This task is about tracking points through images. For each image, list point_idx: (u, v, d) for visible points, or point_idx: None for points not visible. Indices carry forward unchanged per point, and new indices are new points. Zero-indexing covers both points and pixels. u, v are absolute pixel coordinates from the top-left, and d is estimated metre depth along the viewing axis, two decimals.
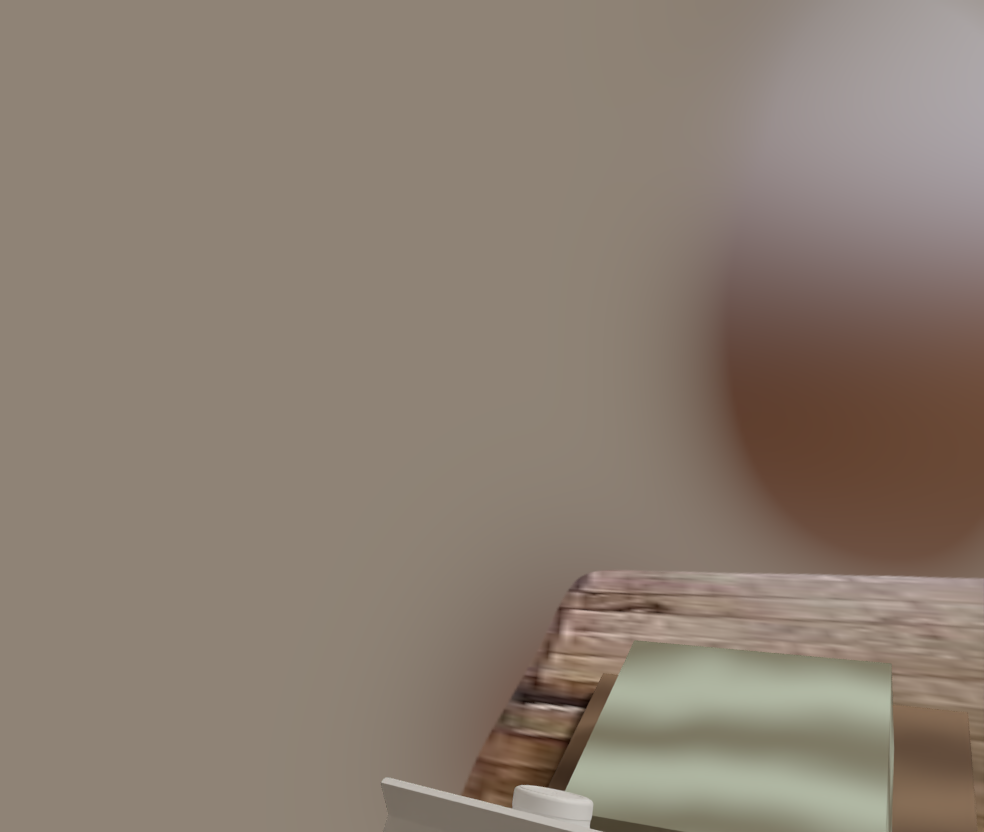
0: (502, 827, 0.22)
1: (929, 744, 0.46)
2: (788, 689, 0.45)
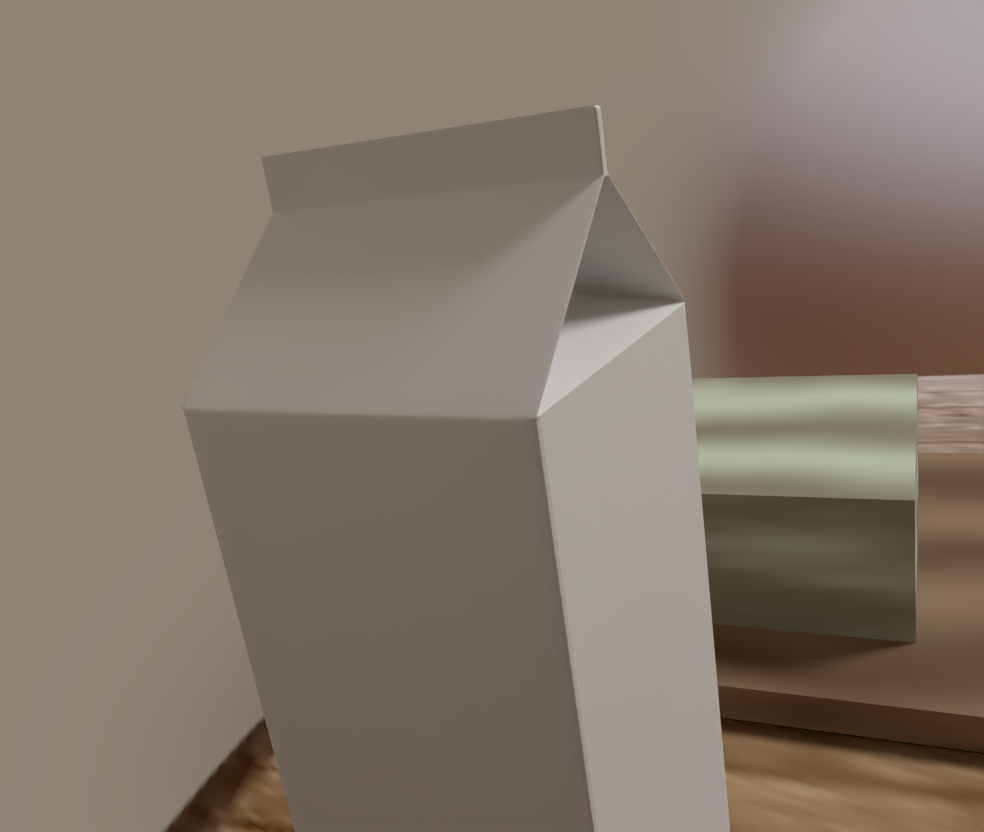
0: (414, 159, 0.16)
1: (959, 477, 0.40)
2: (798, 397, 0.39)
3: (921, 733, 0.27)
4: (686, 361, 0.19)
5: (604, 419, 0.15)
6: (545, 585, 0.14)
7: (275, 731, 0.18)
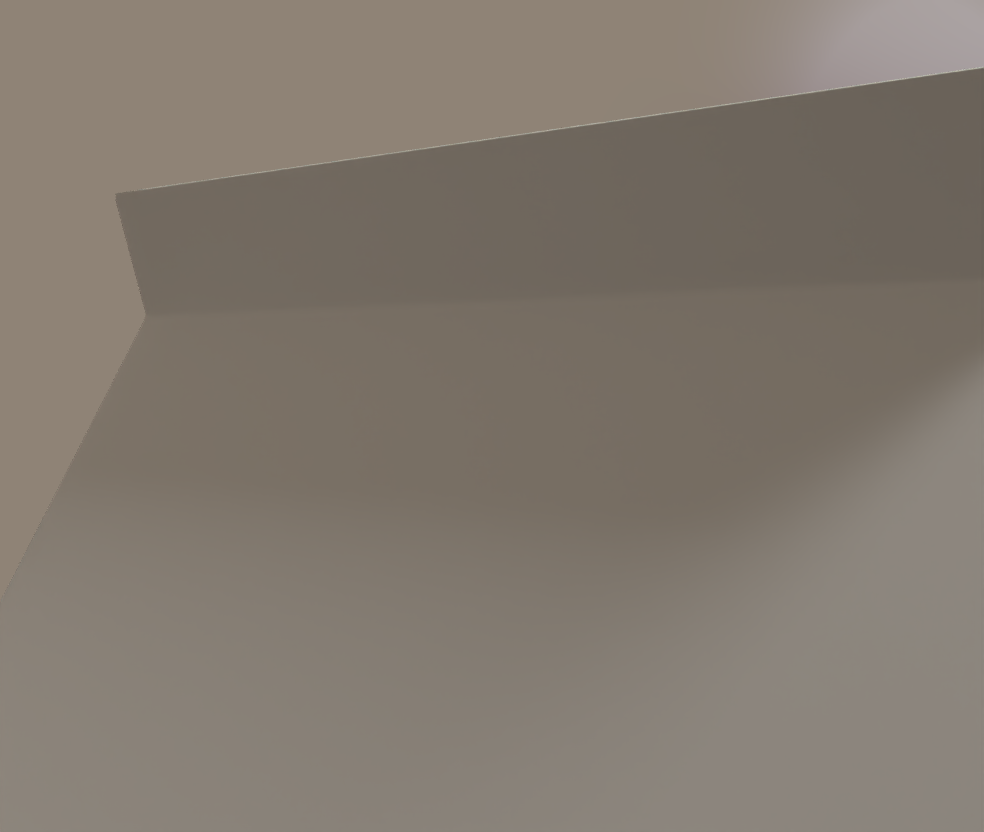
0: (479, 209, 0.06)
1: None
2: None
3: None
4: None
5: None
6: None
7: None
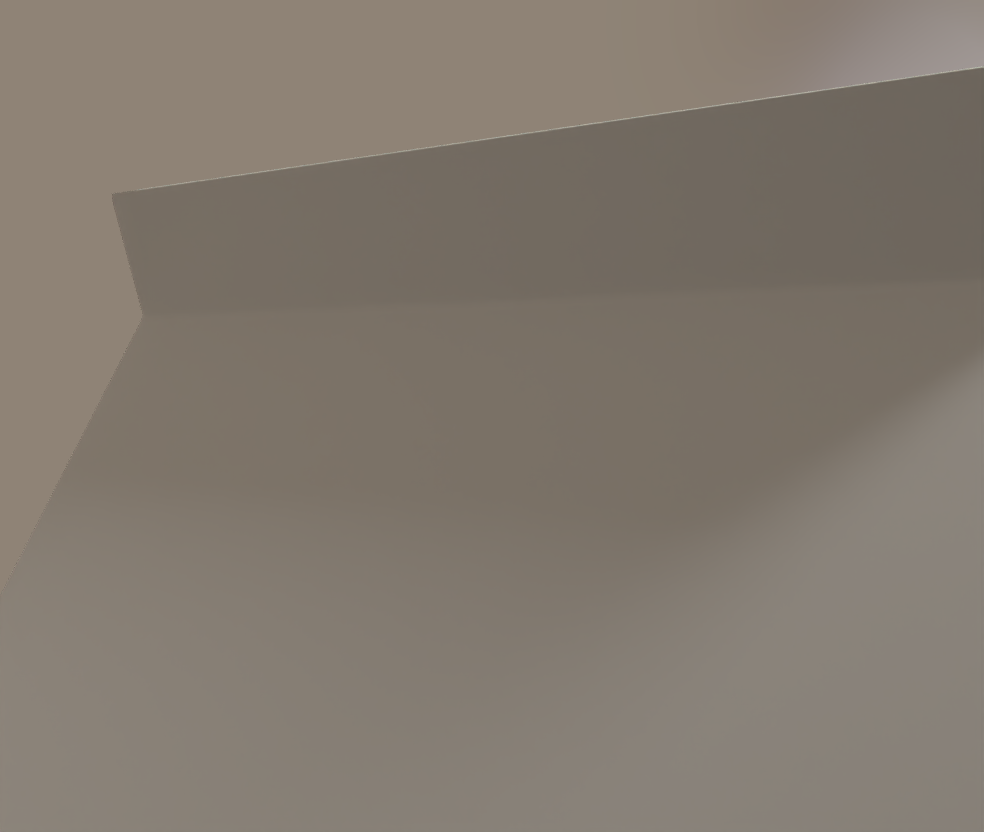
0: (477, 209, 0.06)
1: None
2: None
3: None
4: None
5: None
6: None
7: None
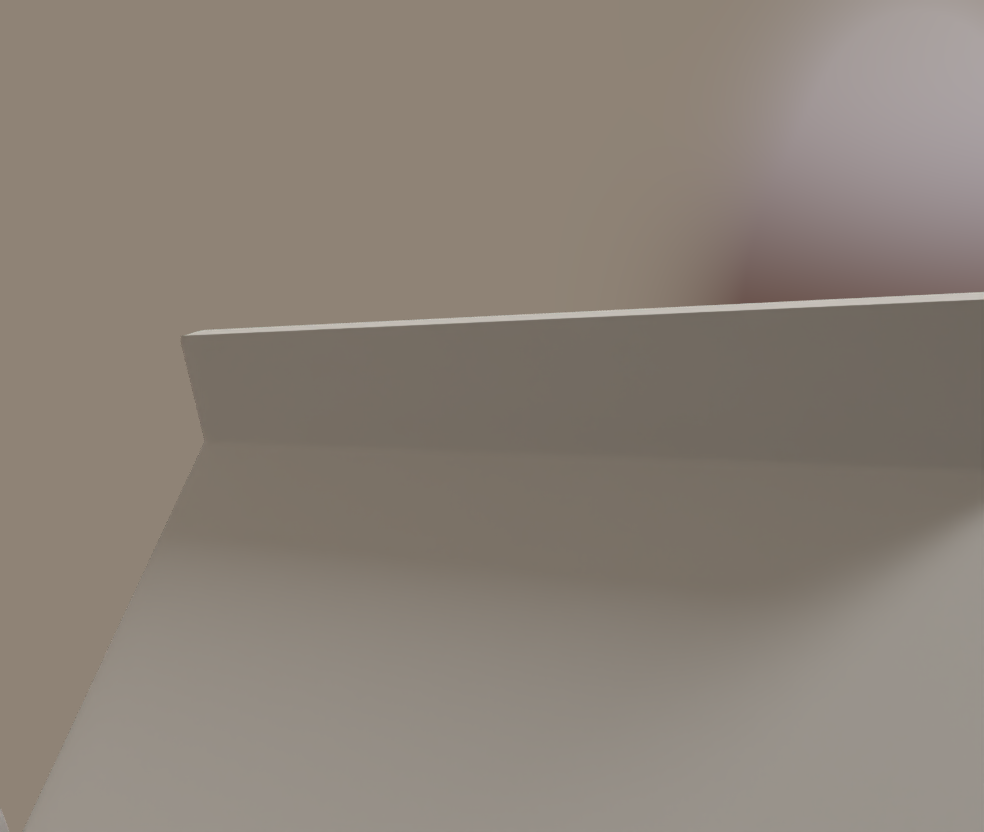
0: (514, 376, 0.07)
1: None
2: None
3: None
4: None
5: None
6: None
7: None
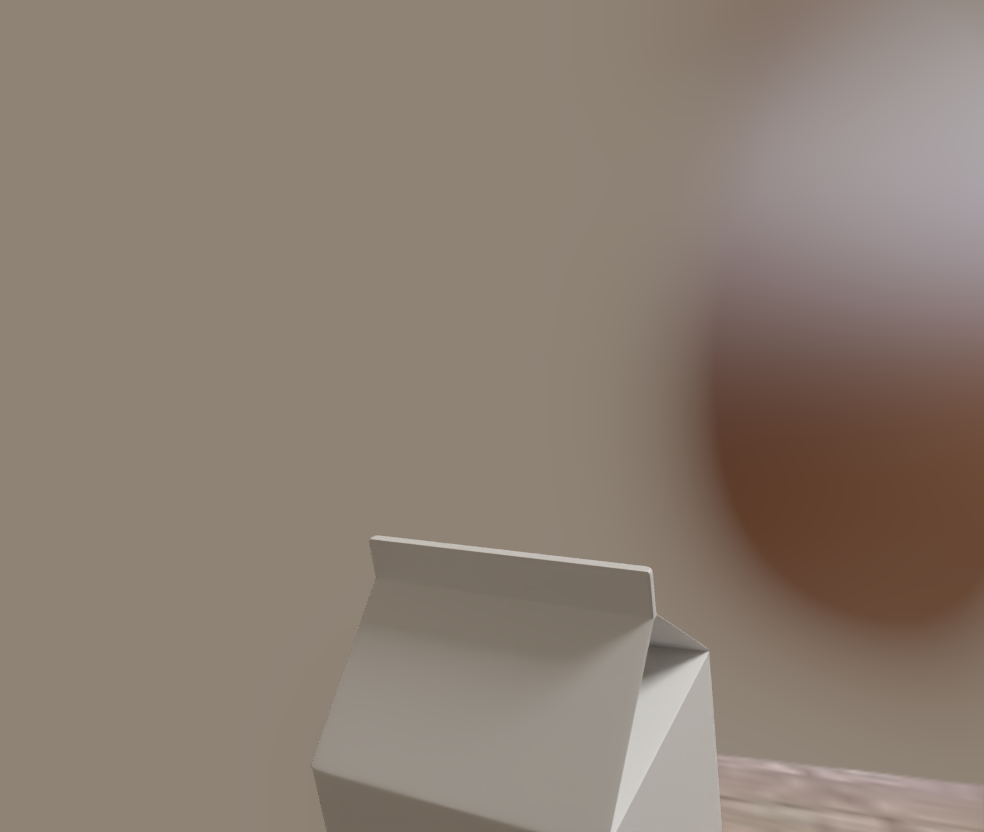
0: (499, 571, 0.21)
1: None
2: None
3: None
4: (709, 697, 0.23)
5: (651, 804, 0.19)
6: None
7: None
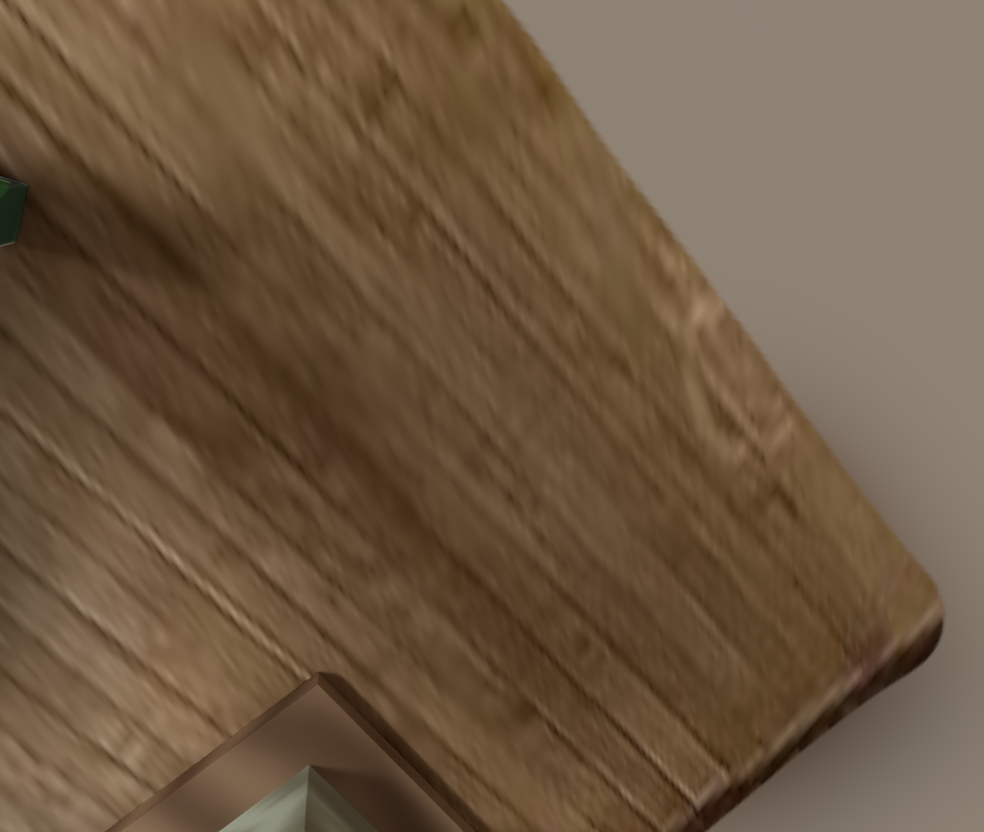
0: None
1: None
2: None
3: (358, 715, 0.50)
4: None
5: None
6: None
7: None
